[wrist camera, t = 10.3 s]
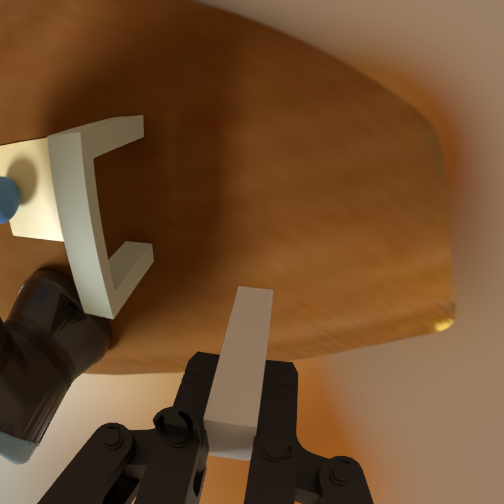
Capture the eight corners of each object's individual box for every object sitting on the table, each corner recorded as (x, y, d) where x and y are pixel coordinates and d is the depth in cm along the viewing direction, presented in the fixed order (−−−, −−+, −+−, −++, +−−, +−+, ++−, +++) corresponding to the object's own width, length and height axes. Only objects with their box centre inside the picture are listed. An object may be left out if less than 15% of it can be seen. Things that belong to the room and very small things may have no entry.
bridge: (143, 115, 24) (80, 132, 16) (154, 261, 31) (113, 319, 23) (114, 117, 24) (47, 136, 16) (128, 258, 31) (84, 312, 23)
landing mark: (78, 242, 31) (77, 243, 31) (14, 234, 32) (13, 235, 32) (62, 135, 25) (61, 136, 25) (-3, 146, 26) (-4, 146, 26)
